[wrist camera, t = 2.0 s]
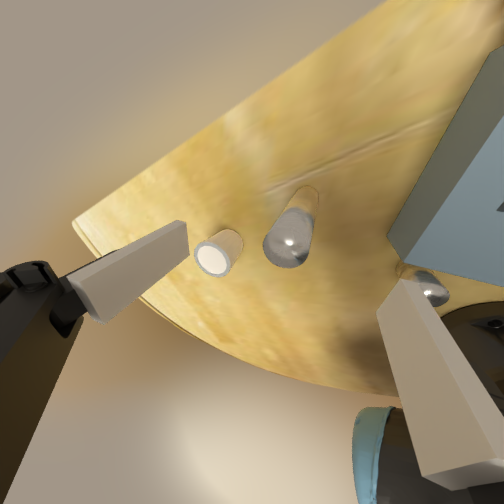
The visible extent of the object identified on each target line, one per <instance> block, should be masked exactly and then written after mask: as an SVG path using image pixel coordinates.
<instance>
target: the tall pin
mask: <svg viewBox="0 0 504 504" xmlns="http://www.w3.org/2000/svg"><path fill="white" fill-rule="evenodd" d="M318 200H319V195H318V192H317V191H316V189H314V188H313V187H311V186H304V187H301V188H299V189H298V190H297V191H296V193H295V194H294V196H293V197H292V199H291V200H290V202H289V203H288V204H287V206H286V207H285V209H284V210H283V212H282V213H281V215H280V216H279V218H278V219H277V220H276V222H275V223H274V225H273V226H272V228H271V229H270V231H269V232H268V234H267V235H266V237H265V238H264V241H263V250H264V253H265V255H266V257H267V258H268V260H269V261H271V262H272V263H273V264H275V265H277V266H279V267H282V268H294V267H297V266H299V265H301V264H302V263H303V262H304V261H305V260H306V259H307V257H308V254H309V249H310V244H311V238H312V233H313V227H314V222H315V216H316V211H317V205H318Z"/></svg>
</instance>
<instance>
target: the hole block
mask: <svg viewBox="0 0 504 504" xmlns="http://www.w3.org/2000/svg"><path fill="white" fill-rule="evenodd" d="M387 238H388V239H389V241H390V243H391V244H392V246H393V247H394V249H395V250H396V252H397V254H398V255H399V257H400V258H401V260H402V261H403V262H404V263H408V264H412V265H416V266H420V267H424V268H428V269H432V270H436V271H440V272H444V273H448V274H452V275H457V276H461V277H465V278H469V279H473V280H477V281H481V282H485V283H489V284H493V285H497V286H501V287H504V45H503V46H501V47H499V48H498V49H496V50H494V51H492V52H491V53H490V54H489V56H488V58H487V60H486V61H485V63H484V65H483V67H482V68H481V70H480V72H479V74H478V75H477V77H476V79H475V81H474V83H473V84H472V86H471V88H470V90H469V91H468V93H467V95H466V97H465V98H464V100H463V102H462V104H461V105H460V107H459V109H458V111H457V113H456V114H455V116H454V118H453V120H452V121H451V123H450V125H449V127H448V128H447V130H446V132H445V134H444V135H443V137H442V139H441V141H440V143H439V144H438V146H437V148H436V150H435V151H434V153H433V155H432V157H431V158H430V160H429V162H428V164H427V165H426V167H425V169H424V171H423V173H422V174H421V176H420V178H419V180H418V181H417V183H416V185H415V187H414V188H413V190H412V192H411V194H410V195H409V197H408V199H407V201H406V203H405V204H404V206H403V208H402V210H401V211H400V213H399V215H398V217H397V218H396V220H395V222H394V224H393V225H392V227H391V229H390V231H389V233H388V234H387Z"/></svg>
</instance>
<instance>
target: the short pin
mask: <svg viewBox="0 0 504 504" xmlns="http://www.w3.org/2000/svg"><path fill="white" fill-rule="evenodd" d="M396 272H397V274H398V276H399V278H401V279H405V280H409V281H412V282H416V283H418V285H419V286H420V288H421V289H422V291H423V293H424V294H425V296H426V297H427V299H428V300H429V302H430V303H431V305H432V307H438V306H441V305H443V304H444V303H446V302H447V301H448V300H449V297H450V294H449V292H448V290H447V289H446V288H445V287H444V285H443V284H442V283H441V282H440V281H439V279H438V278H437V277H436V276H435V274H434V273H433V272H432V271H431V270H430V269H428V268H424V267H420V266H416V265H412V264H408V263H404V262H403V261H401V262H400V263H399V264H398V265H397V267H396Z"/></svg>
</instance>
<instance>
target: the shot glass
mask: <svg viewBox="0 0 504 504" xmlns="http://www.w3.org/2000/svg"><path fill="white" fill-rule="evenodd" d="M242 249H243V240H242V239H241V237H240V235H239V234H238V233H236V232H235V231H233V230H231V229H224V230H222V231H220V232H218V233H217V234H215V235H213V236H212V237H210V238H208V239H206V240H205V241H203V242H201V243H200V244H198V245H197V246H196V248H195V251H194V257H195V260H196V263H197V264H198V266H199V267H200V268H201V269H202V270H203V271H204V272H205V273H207V274H209V275H211V276H213V277H223V276H225V275H226V274H227V273H228V272H229V271H230V269H231V268H232V266H233V264H234V263H235V261H236V259H237V258H238V256H239V254H240V253H241V251H242Z"/></svg>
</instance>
